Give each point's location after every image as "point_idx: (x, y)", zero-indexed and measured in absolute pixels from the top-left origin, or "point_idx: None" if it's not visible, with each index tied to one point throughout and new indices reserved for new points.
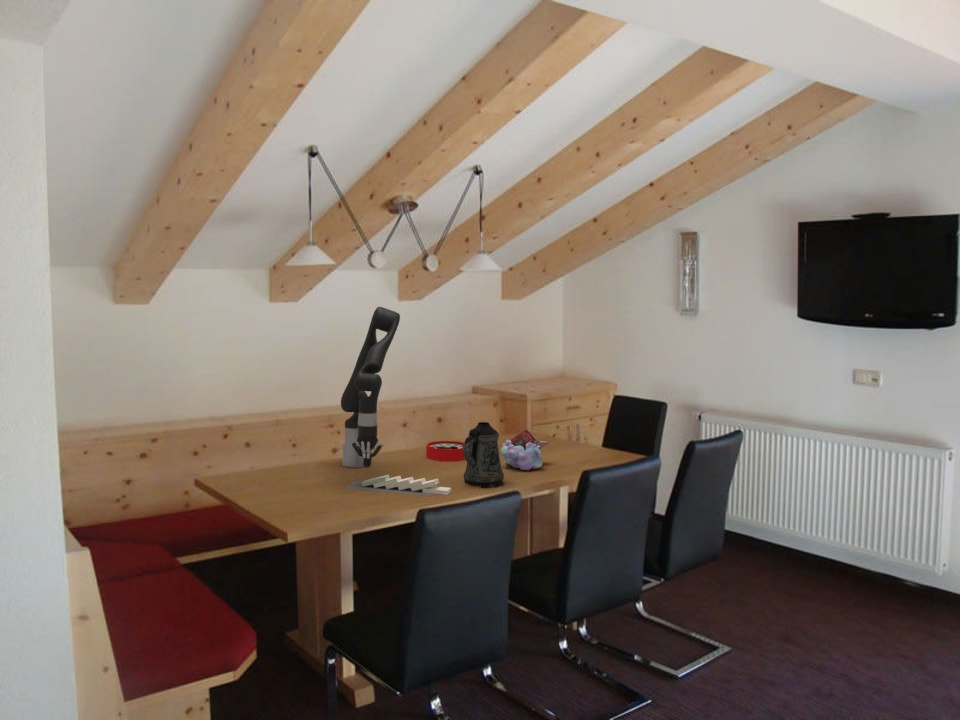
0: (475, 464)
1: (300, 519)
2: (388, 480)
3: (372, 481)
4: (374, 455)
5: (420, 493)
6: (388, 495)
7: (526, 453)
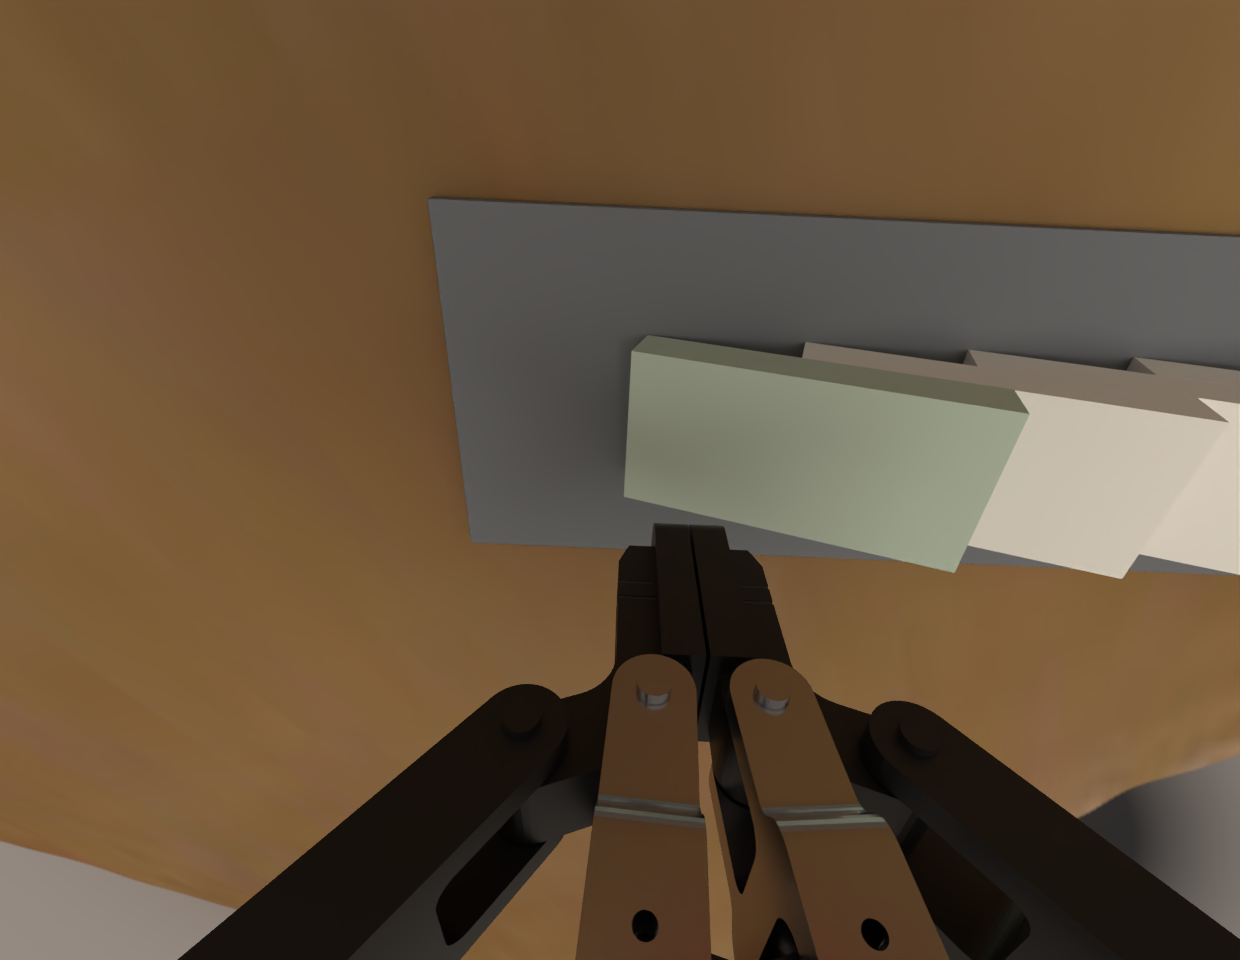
0: None
1: (559, 954)
2: (992, 548)
3: (766, 521)
4: (928, 847)
5: None
6: (939, 607)
7: None
